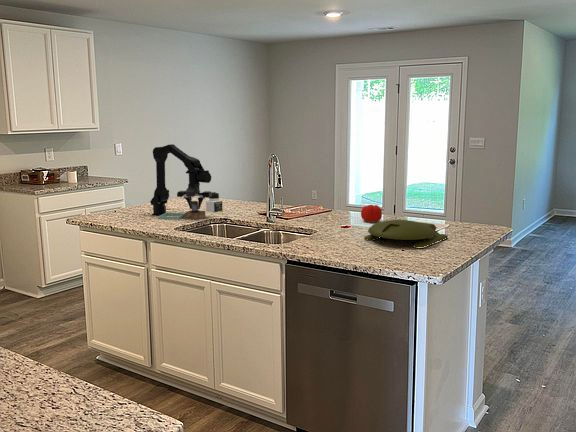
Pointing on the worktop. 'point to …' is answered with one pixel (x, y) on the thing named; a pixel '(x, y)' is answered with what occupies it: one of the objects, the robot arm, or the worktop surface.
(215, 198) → the medicine bottle
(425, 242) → the olive green domed shape
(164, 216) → the tray
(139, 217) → the worktop surface
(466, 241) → the worktop surface
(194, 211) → the stop pin
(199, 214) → the socket block
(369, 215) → the tomato
